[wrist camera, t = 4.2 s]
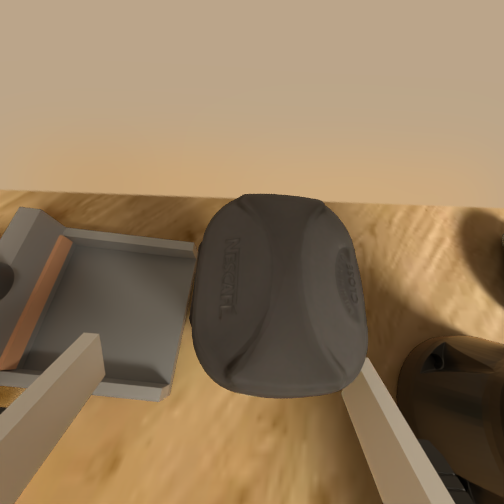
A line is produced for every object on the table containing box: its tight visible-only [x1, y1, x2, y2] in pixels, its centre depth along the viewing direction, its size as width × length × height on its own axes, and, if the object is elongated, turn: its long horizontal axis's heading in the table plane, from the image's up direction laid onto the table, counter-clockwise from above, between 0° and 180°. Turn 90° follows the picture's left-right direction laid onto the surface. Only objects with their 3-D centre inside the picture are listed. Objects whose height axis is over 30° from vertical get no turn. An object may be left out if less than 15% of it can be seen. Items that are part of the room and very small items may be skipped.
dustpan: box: [0, 207, 198, 402], centre depth 21 cm, size 17×15×11 cm
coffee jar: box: [189, 194, 368, 398], centre depth 17 cm, size 10×8×19 cm
